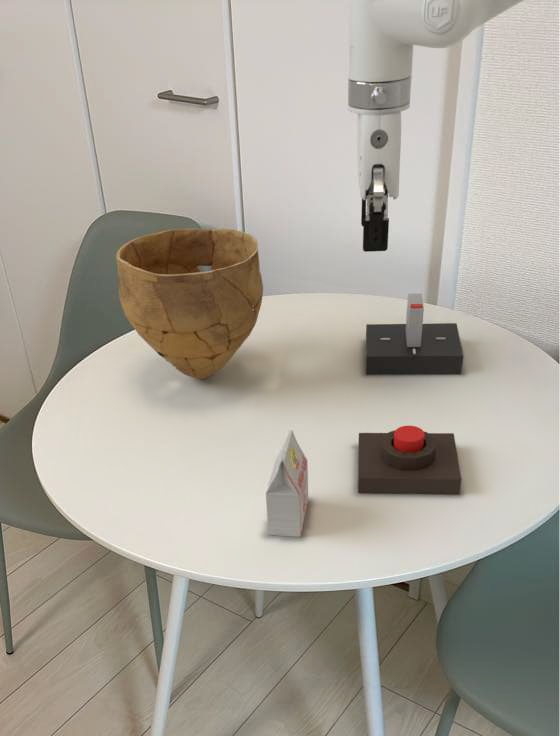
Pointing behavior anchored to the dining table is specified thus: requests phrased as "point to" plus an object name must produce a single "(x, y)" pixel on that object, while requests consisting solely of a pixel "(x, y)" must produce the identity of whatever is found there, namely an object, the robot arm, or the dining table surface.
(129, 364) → the dining table surface
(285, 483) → the milk carton
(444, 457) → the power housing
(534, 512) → the dining table surface
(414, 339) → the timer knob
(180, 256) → the bowl
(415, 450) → the power button
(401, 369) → the black flat block
